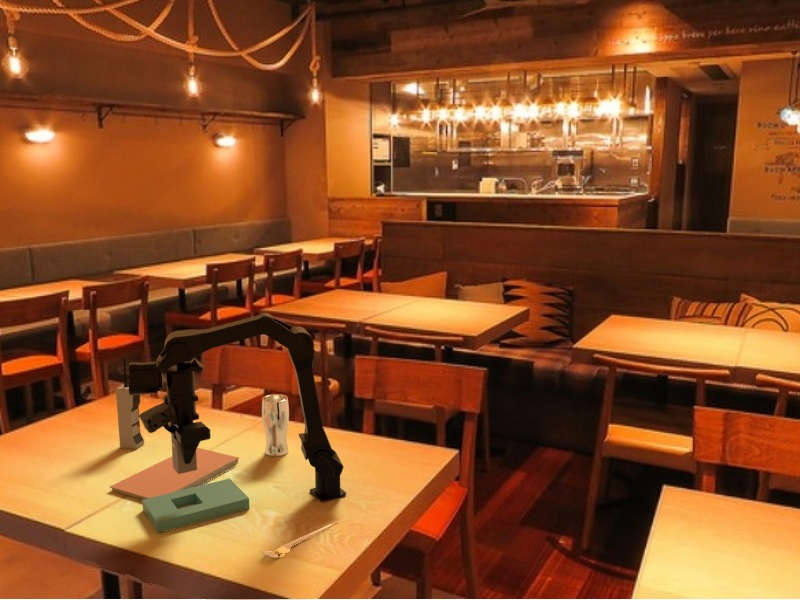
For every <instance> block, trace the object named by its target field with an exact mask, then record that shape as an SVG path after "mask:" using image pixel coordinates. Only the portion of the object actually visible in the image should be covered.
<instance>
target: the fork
mask: <svg viewBox="0 0 800 600" xmlns="http://www.w3.org/2000/svg"><path fill="white" fill-rule="evenodd" d="M331 524H332V523H330V524H327V525H326V526H323V527H321V528H319V529H316V530H315V531H312V532H310V533H308V534H305V535H303V536H301V537H298V538H296V539H294V540H292V541H290V542H288V543H285V544H282V545H281V546H280V547H285V548H287V549H291V550H292V548H293V547H295V546H297V545H298V544H297V543H299V542H301V541H304V540H305V539H307V538H310V537H311V536H313V535H315V534H317V533H319V532H320V531H322V530H324V529H326V528H328V527H329V526H331ZM328 529H329V528H328ZM326 530H327V529H326ZM324 531H325V530H324ZM322 532H323V531H322ZM319 534H320V533H319ZM317 535H318V534H317ZM315 536H316V535H315ZM313 537H314V536H313ZM311 538H312V537H311ZM311 538H310V539H311ZM304 542H305V541H304ZM301 543H302V542H301ZM296 544H297V545H296ZM299 544H300V543H299ZM294 545H295V546H294ZM292 546H293V547H292ZM291 547H292V548H291ZM259 552H260V553H261V554H263V555H265V556H267V557H270V558H272V559H273V558H274V559H279V558H278V557H280V556H278V555H277V554H278V553H277V554H274V553H272V550H268V551H259ZM275 555H277V556H275Z"/></svg>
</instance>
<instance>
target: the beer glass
mask: <svg viewBox="0 0 800 600" xmlns="http://www.w3.org/2000/svg"><path fill="white" fill-rule="evenodd" d="M261 399H262V402H261V417H262V425H263V429H264V435H265V448H264V454H265V455H266V456H268V457H272V458H273V457H276V458H278V457H283V456H285V455H287V454H288V453H289V447H288V442H287V436H288V435H287V434H288V429H289V428H288V427H289V421H290V420H289V419H290V408H289V407H290V406H289V400H288V399H289V398H288V396H287V395H286V394H281V393H279V394H278V393H277V394H268V395H265V396H263V397H262V398H261Z"/></svg>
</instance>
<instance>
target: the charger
mask: <svg viewBox="0 0 800 600" xmlns="http://www.w3.org/2000/svg"><path fill="white" fill-rule="evenodd" d="M170 435H171V436H170V437H171V438H170V439H171V453H172V455H171V457H172V458H173V468H174V469H175V471H176V472H177V473H178V474H181V473H186V472H190V471H195V470H197V459H196V452H195V454H194V456H193V458H192V461H191V463H189V464H185V462H184V458H183V453H182V449H181V445H180V443H179V442H177V441H176V440H175V439H174V438H173V436H176V432H173V433H170Z"/></svg>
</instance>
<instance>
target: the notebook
mask: <svg viewBox="0 0 800 600" xmlns="http://www.w3.org/2000/svg"><path fill="white" fill-rule="evenodd" d="M196 459H197V470H195V471H190V472H186V473H181V474H178V473H177V472H176V471H175V469H174V468H173V458H172V456H170V457H167V458H165V459H163V460H162V461H159V462H157V463H155V464H153V465H150V466H149V467H146V468H145V469H143V470H140V471H139V472H137V473H135V474H132V475H131V476H128V477H126V478H124V479H122V480H120V481H118V482H116V483H114V484H112V485H110V486H109V489H111V491H113V492H117V493H121V494H123V495H126V496H130V497H132V498H133V497H134V498H136V497H137V498H136V499H139V498H140V499H139V500H143V499H148V498H152V497H156V496H160V495H164V494H168V493H172V492H176V491H180V490H184V489H188V488H193V487H197V486H201V485H205V484H208V483H210V482H209V481H212V480H213V479H215V478H217V477H219V475H220V476H221V475H223V474H225V472H228V471H231V470H232V469H234V468H235V467H237V464H238V463H239V459H240V457H239V456H234V455H229V454H225V453H222V452H219V451H213V450H210V449H209V450H208V449H205V448H202V447H197V449H196ZM236 463H237V464H236Z"/></svg>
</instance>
